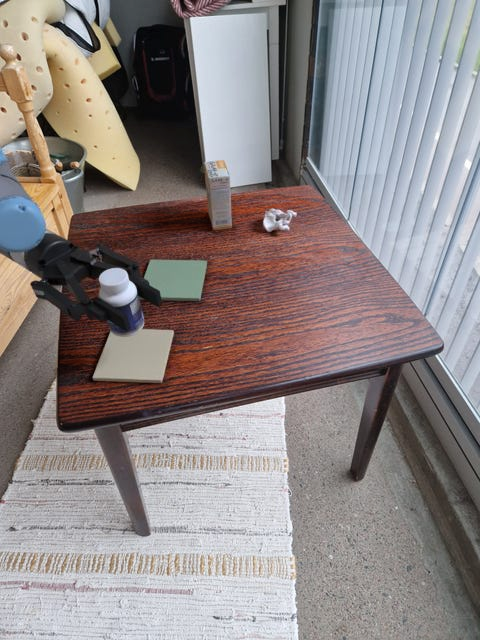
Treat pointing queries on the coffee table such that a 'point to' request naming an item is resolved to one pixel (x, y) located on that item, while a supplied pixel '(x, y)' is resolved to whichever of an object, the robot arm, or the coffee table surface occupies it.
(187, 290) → the sage mat
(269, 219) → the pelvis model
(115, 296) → the pill bottle
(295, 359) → the coffee table surface
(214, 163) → the supplement box
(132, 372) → the cream mat
